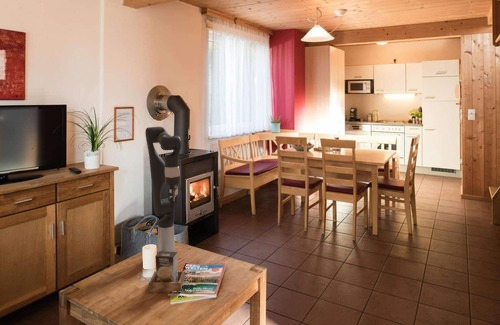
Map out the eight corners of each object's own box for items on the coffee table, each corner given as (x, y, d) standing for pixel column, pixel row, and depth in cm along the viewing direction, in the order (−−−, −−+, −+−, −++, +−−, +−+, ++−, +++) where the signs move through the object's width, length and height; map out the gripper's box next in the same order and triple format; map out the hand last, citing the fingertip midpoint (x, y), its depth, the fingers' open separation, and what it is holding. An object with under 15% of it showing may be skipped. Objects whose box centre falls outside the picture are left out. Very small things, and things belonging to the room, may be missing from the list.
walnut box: (149, 293, 174) (148, 283, 173) (155, 280, 186) (154, 271, 185) (180, 292, 175) (180, 282, 174) (184, 280, 186) (184, 271, 186)
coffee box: (156, 287, 178) (154, 256, 175) (161, 280, 184) (159, 250, 181) (174, 288, 177) (172, 257, 174) (178, 281, 183) (177, 251, 180)
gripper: (167, 172, 195) (169, 201, 198) (162, 178, 181) (163, 209, 184) (182, 172, 195) (183, 201, 198) (177, 177, 181) (178, 209, 184)
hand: (173, 205), depth 191 cm, fingers open, 8 cm apart
